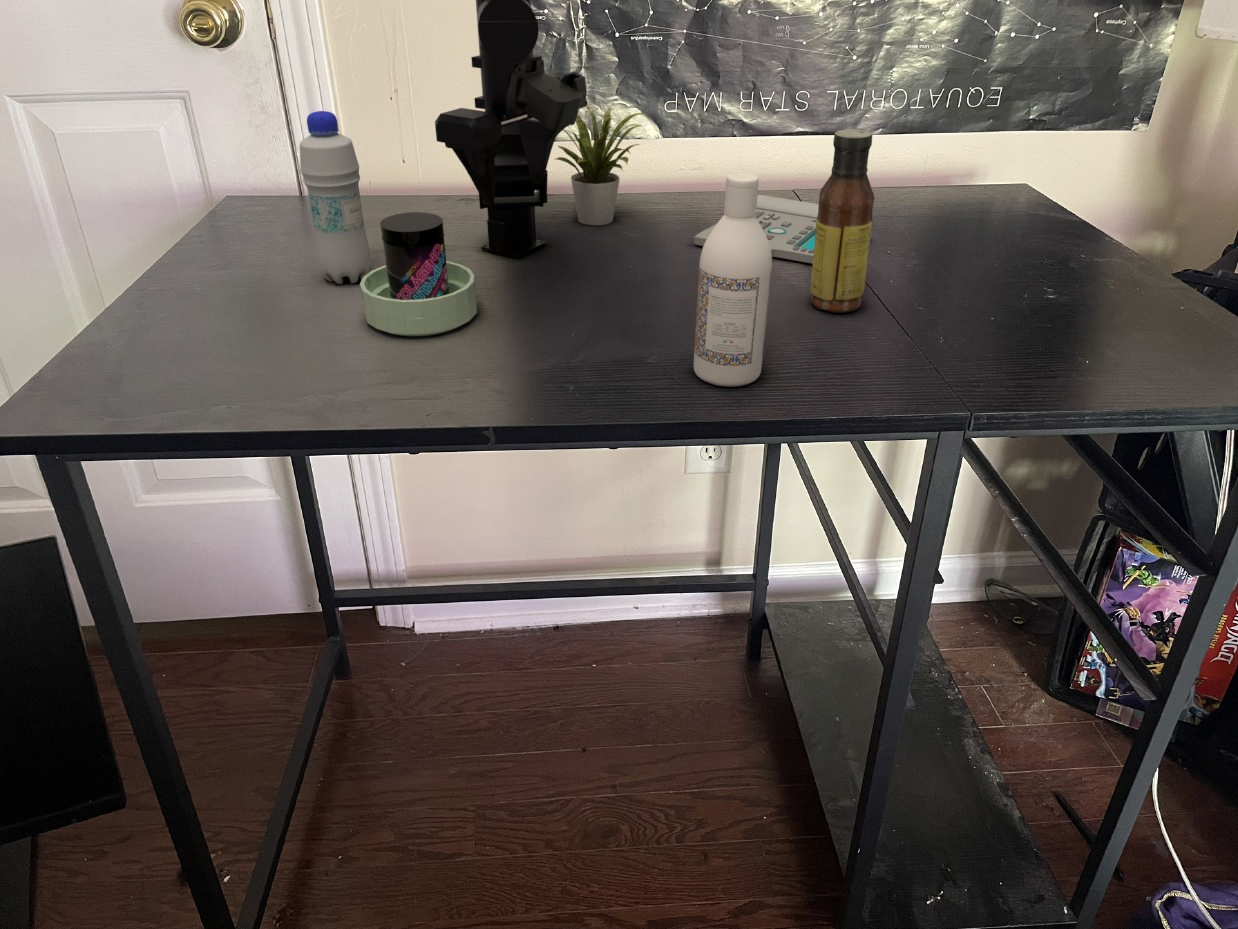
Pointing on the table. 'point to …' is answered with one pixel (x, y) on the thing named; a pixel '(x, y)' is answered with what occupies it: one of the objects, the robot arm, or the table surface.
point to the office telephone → (783, 227)
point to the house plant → (596, 170)
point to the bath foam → (733, 291)
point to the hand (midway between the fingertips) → (514, 193)
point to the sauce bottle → (843, 226)
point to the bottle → (334, 199)
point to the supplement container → (415, 255)
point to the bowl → (419, 304)
